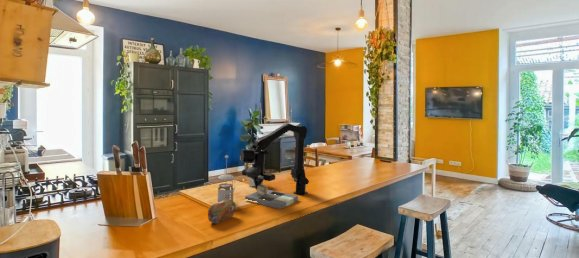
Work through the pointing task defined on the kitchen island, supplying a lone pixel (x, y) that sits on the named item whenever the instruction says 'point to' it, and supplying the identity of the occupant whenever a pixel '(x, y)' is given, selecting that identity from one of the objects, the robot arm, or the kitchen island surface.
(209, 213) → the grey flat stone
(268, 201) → the board
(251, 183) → the supplement box
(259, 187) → the maple block
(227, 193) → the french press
